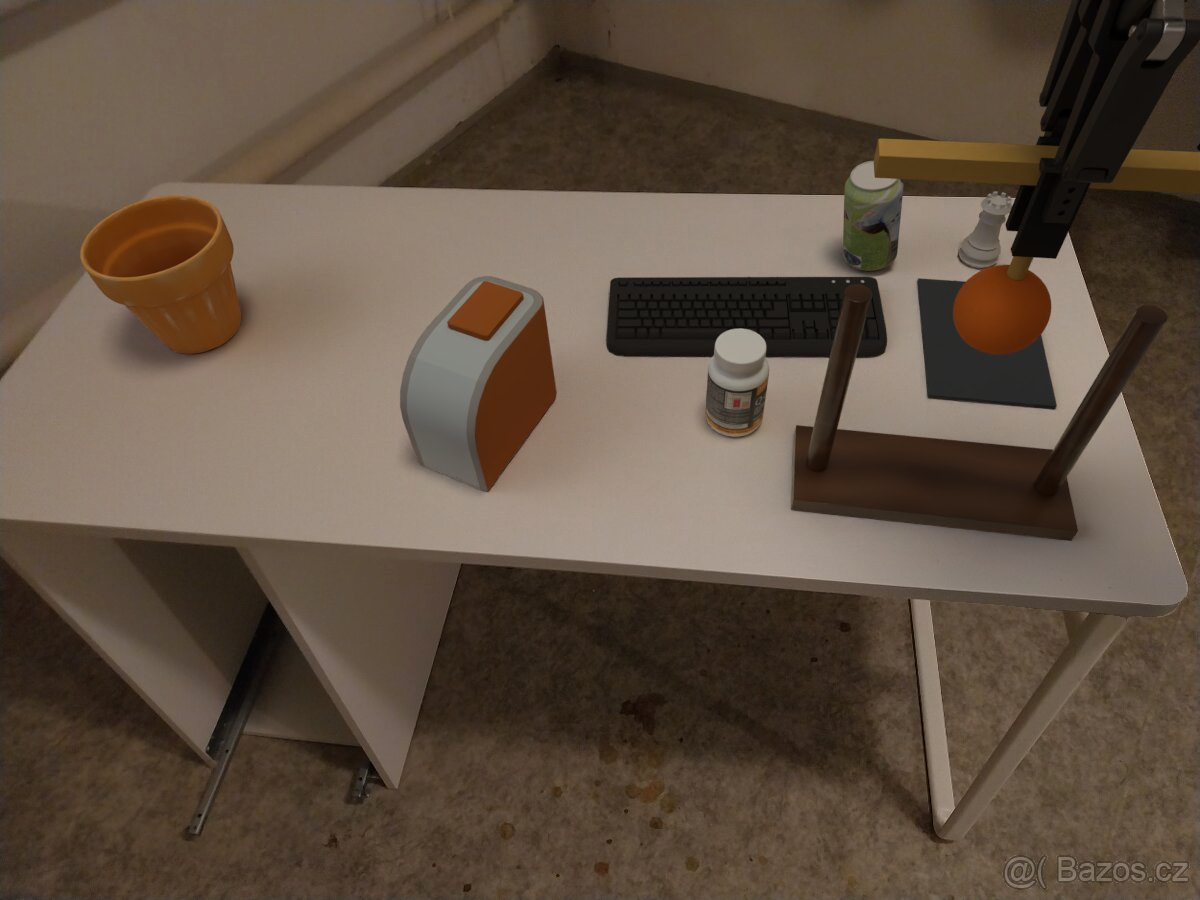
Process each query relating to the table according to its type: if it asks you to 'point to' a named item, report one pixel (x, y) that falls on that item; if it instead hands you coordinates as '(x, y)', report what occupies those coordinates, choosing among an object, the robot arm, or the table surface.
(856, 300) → the hanger rack
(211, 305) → the flower pot
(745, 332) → the pill bottle
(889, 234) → the beverage can
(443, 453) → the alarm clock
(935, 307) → the slate mat
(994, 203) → the rook chess piece
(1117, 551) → the table surface
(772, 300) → the keyboard
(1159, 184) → the ball on t-bar
